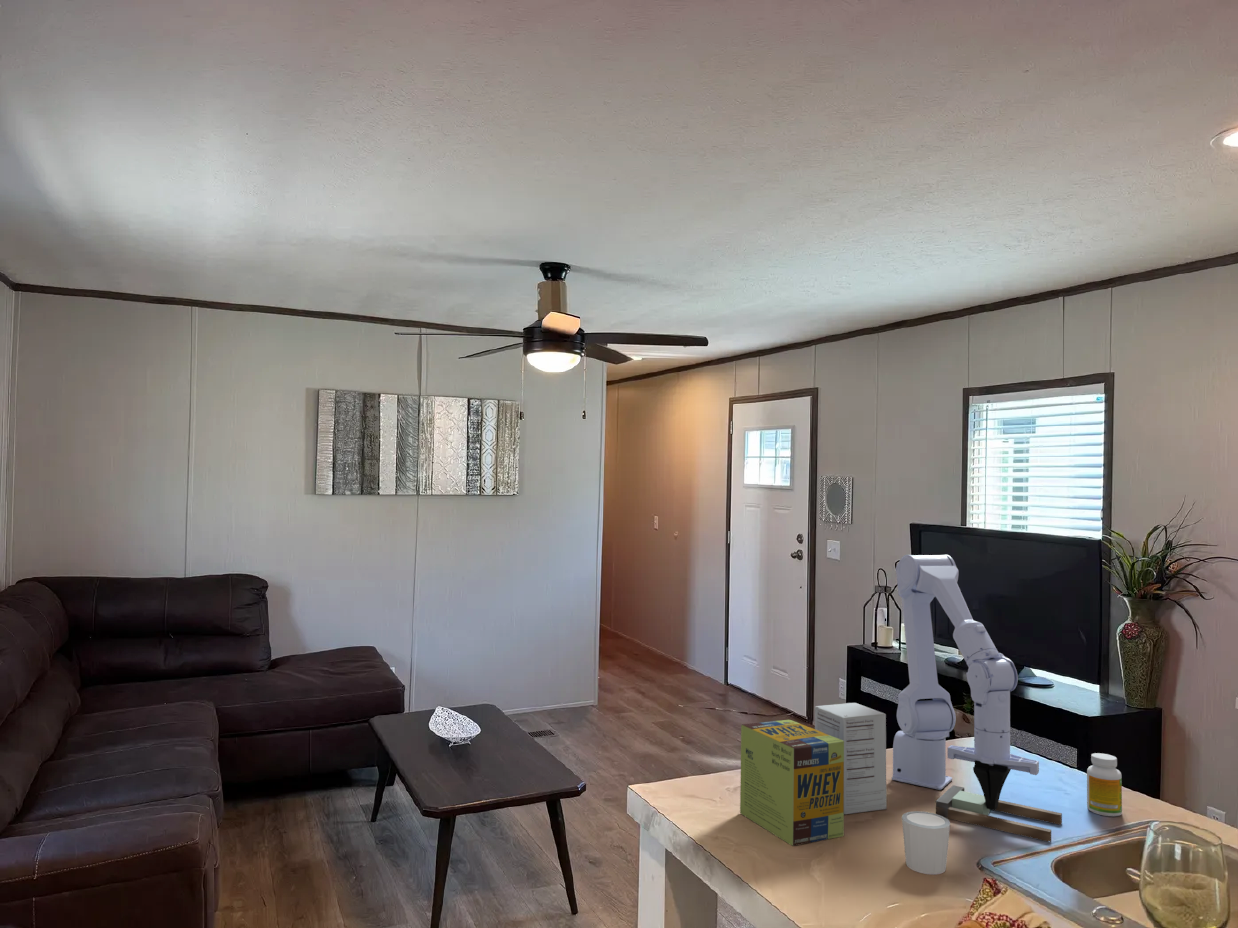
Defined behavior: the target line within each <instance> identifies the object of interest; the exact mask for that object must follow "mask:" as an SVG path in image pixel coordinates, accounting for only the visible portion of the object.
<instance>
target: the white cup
mask: <svg viewBox="0 0 1238 928" xmlns="http://www.w3.org/2000/svg"><path fill="white" fill-rule="evenodd" d="M901 822H902V825H901V826H902V834H903V835H902V836H903V846H904V856H905V857H904V858H905V864H906V866H907V868H909V869H910V870H912V871H914V872H916V873H920V874H925V875H935V876H936V875H940V874H943V873H945V871H946V869H947V862H948V860H947V859H948V852H949V839H950V829H951V821H950V819H949V818H945V817H943V816H940V815H937V814H936V813H934V812H930V811H929V812H928V811H920V810H919V811H917V810H916V811H908V812H904V813H903V814H902V816H901Z"/></svg>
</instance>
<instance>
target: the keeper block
mask: <svg viewBox="0 0 1238 928" xmlns="http://www.w3.org/2000/svg"><path fill="white" fill-rule="evenodd" d="M952 808H957V809H961V810H966V811H970V812H975V813H979V814H983V815H988V816H989V814H990V810H991V809H987V807H986V802H985V797H984V794H979V793H978V794H977V793H975V792H974V793H973V792H969V791H965V790H964V791H959V792H958V793H957V794H956V795H955V796H954V797H953V798H952Z"/></svg>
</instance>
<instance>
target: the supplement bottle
mask: <svg viewBox="0 0 1238 928" xmlns="http://www.w3.org/2000/svg"><path fill="white" fill-rule="evenodd" d="M1090 755H1091V756H1090V757H1091V758H1090V761H1091V764H1092V765H1090V766H1088V768H1087V769H1086V805H1087V806H1086V807H1087V810H1089V811H1090V812H1091V813H1094V814H1096V815H1100V816H1104V817H1119V816H1121V815H1123V814H1122V813H1123V790H1122V789H1123V788H1122V787H1123V784H1122V783H1123V782H1122V781H1123V780H1122V772H1121V771H1120V770H1119V769H1117V767H1118V758H1117V757H1116V756H1115V755H1111V754H1109V753H1103V752H1102V753H1100V752H1097V753H1096V752H1094V753H1091V754H1090Z"/></svg>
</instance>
